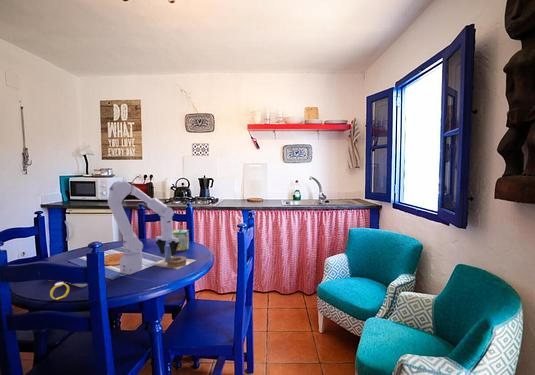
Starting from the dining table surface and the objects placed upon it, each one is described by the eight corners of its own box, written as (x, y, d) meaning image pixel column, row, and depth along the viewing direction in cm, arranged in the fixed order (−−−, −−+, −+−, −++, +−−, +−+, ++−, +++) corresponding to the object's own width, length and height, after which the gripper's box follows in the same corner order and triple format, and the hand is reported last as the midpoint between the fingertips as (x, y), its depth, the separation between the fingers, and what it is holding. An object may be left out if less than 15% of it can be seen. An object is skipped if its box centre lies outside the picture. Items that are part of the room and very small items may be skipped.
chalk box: (174, 247, 170) (173, 224, 169) (189, 246, 171) (188, 223, 170) (171, 252, 161) (170, 227, 160) (186, 251, 162) (185, 226, 161)
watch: (53, 302, 101) (51, 288, 100) (50, 301, 102) (47, 286, 102) (71, 295, 106) (69, 280, 105) (67, 293, 108) (65, 279, 107)
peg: (168, 261, 142) (167, 246, 141) (163, 261, 143) (163, 246, 142) (172, 259, 144) (172, 245, 144) (168, 259, 146) (167, 244, 145)
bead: (177, 268, 132) (177, 263, 132) (163, 265, 136) (163, 260, 136) (189, 262, 140) (189, 257, 140) (176, 260, 144) (176, 255, 144)
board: (177, 270, 131) (177, 269, 131) (150, 265, 138) (150, 264, 138) (196, 261, 143) (196, 260, 143) (171, 257, 151) (171, 256, 151)
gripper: (182, 228, 143) (183, 253, 144) (162, 226, 149) (163, 250, 150) (172, 231, 137) (174, 257, 138) (152, 229, 143) (153, 254, 144)
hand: (168, 254), depth 144 cm, fingers open, 7 cm apart
